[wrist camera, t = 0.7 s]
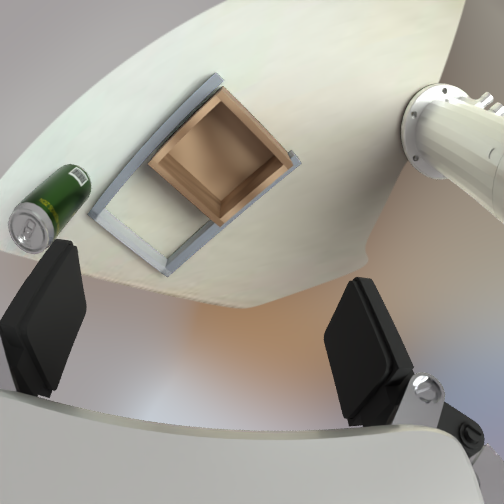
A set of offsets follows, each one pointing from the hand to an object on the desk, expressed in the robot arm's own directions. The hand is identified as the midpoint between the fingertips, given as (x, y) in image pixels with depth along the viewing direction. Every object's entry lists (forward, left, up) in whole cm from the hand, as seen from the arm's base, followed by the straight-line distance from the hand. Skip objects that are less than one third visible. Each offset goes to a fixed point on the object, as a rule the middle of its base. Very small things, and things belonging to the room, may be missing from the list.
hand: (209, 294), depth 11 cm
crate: (+2, +2, -27) cm, 27 cm away
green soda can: (+18, -9, -27) cm, 33 cm away
